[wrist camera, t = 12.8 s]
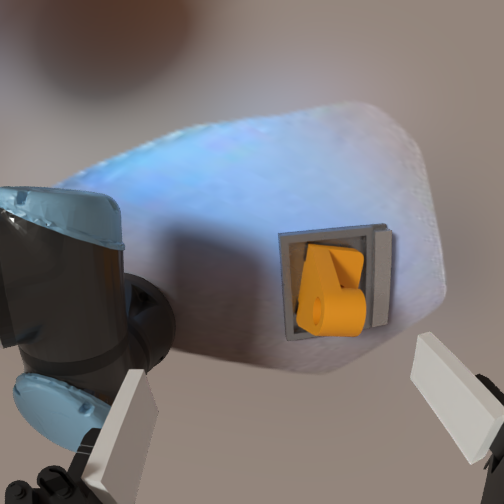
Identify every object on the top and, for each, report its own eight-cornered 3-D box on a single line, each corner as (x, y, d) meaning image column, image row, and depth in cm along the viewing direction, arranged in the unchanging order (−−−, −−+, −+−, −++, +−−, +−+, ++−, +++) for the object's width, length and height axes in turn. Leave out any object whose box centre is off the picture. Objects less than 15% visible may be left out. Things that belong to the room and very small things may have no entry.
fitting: (285, 334, 45) (287, 343, 43) (278, 233, 41) (280, 237, 39) (380, 319, 45) (387, 327, 43) (384, 223, 41) (391, 226, 39)
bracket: (343, 319, 44) (372, 365, 33) (295, 316, 44) (312, 365, 32) (358, 247, 42) (397, 276, 30) (307, 242, 41) (332, 271, 29)
